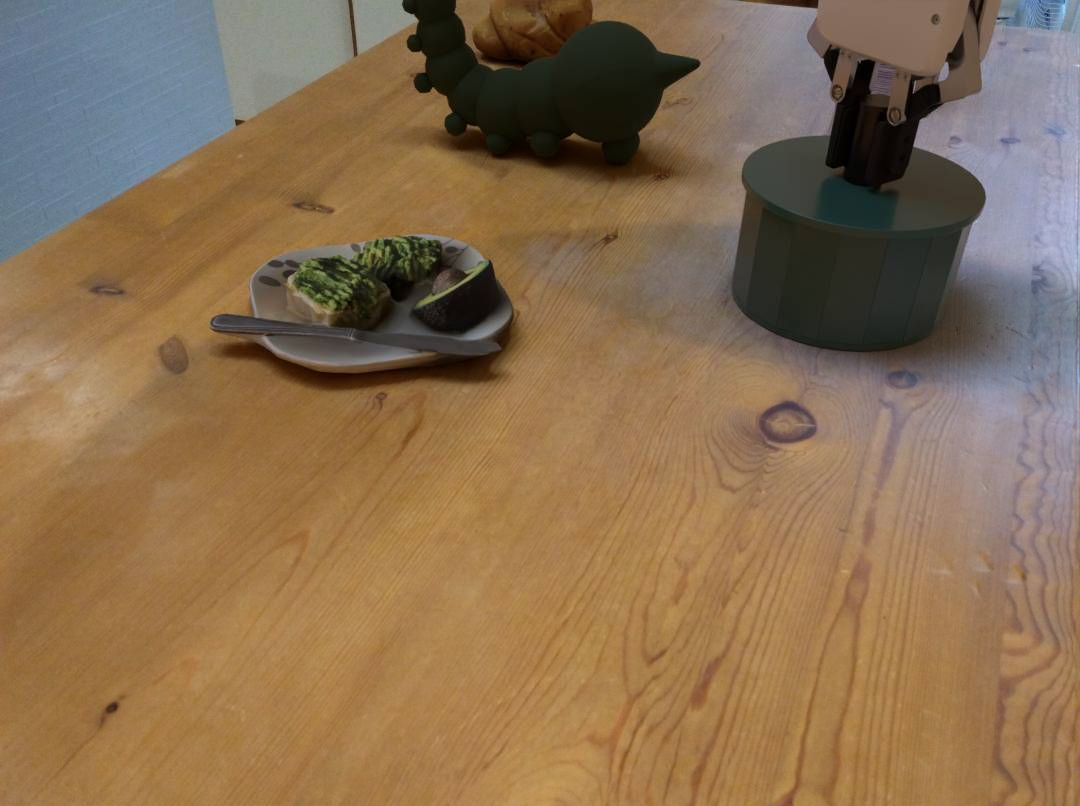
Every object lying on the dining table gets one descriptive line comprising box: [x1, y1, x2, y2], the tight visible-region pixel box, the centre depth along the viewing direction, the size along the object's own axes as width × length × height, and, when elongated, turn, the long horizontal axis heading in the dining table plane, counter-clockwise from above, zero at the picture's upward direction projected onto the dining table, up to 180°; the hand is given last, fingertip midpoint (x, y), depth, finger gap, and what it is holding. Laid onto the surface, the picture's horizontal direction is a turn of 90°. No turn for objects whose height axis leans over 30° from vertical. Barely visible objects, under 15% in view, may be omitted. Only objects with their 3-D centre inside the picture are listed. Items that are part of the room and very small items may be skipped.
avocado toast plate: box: [209, 233, 515, 374], centre depth 69 cm, size 19×18×5 cm
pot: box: [731, 190, 974, 352], centre depth 72 cm, size 15×15×8 cm
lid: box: [741, 94, 987, 240], centre depth 68 cm, size 16×16×6 cm
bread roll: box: [471, 0, 594, 63], centre depth 112 cm, size 13×10×8 cm
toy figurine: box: [401, 0, 701, 165], centre depth 88 cm, size 9×19×25 cm
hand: (864, 170), depth 69 cm, fingers closed on lid, 2 cm apart
